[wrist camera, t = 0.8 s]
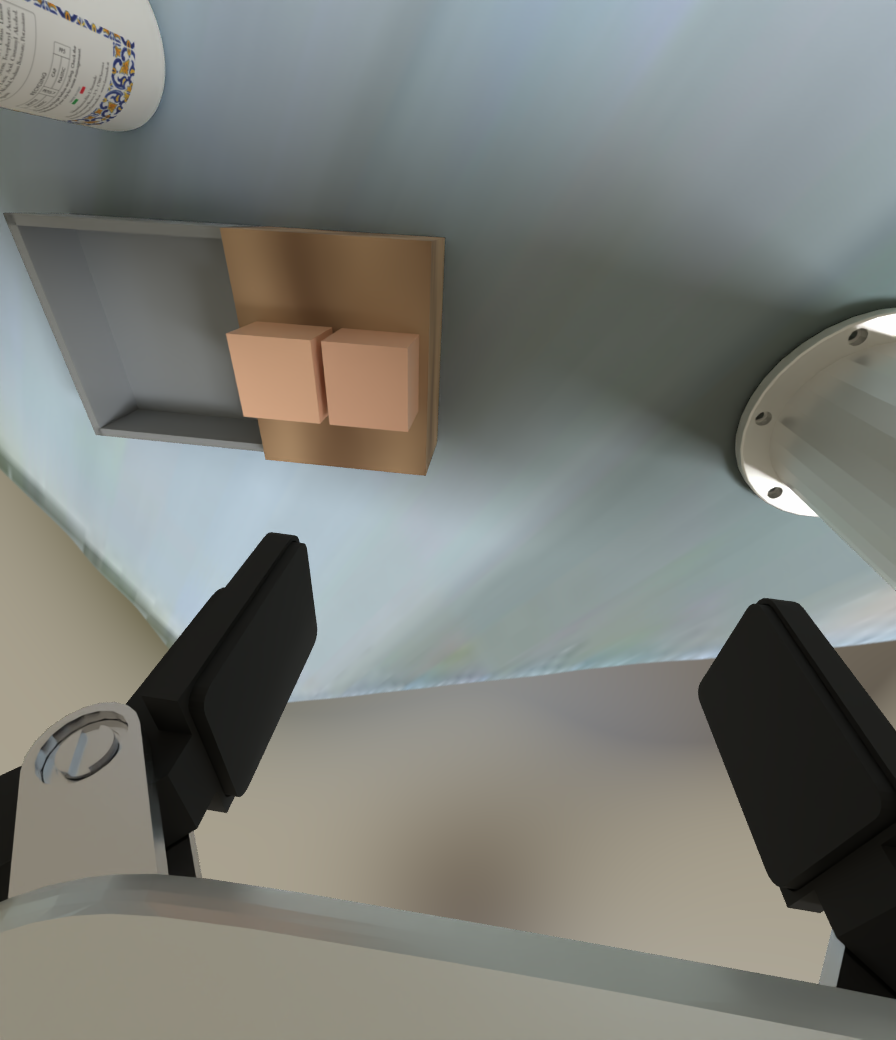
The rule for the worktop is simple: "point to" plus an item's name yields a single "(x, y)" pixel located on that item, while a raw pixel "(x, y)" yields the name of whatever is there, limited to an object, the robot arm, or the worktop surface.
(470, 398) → the worktop surface
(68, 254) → the tray
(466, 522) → the worktop surface
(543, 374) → the worktop surface
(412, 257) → the brown slab
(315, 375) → the light orange block
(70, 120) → the bath foam
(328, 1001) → the robot arm
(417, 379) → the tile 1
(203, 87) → the worktop surface
